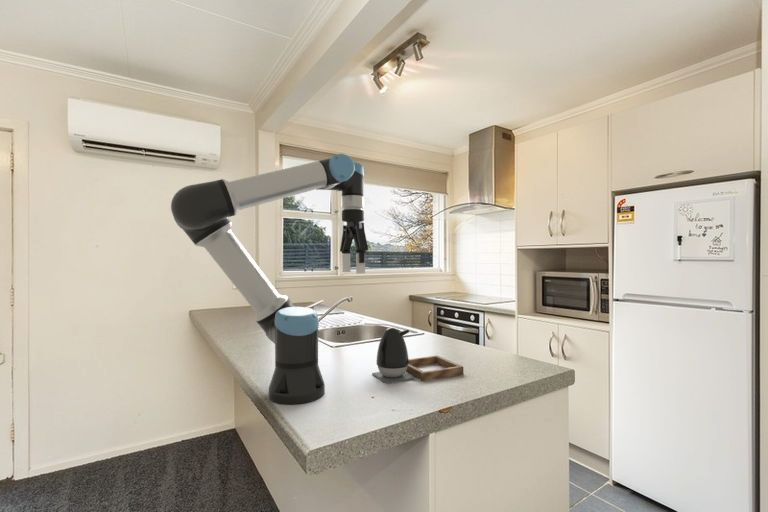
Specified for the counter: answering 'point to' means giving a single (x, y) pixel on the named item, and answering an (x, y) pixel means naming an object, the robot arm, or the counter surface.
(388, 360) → the pump dispenser
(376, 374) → the pad
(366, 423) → the counter surface
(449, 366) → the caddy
